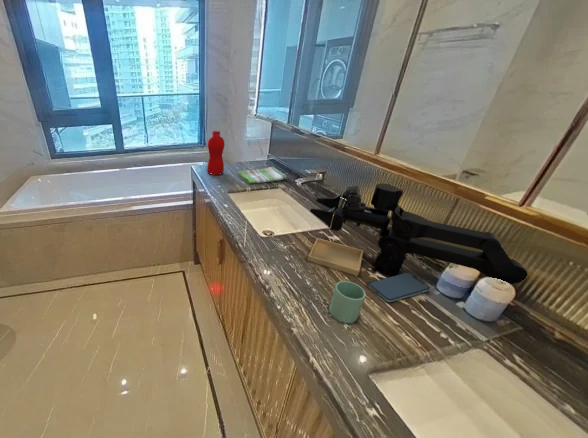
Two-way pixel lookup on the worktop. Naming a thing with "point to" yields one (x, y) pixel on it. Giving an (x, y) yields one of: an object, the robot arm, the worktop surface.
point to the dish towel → (262, 175)
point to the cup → (347, 301)
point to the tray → (336, 256)
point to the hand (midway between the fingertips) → (313, 204)
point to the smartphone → (398, 287)
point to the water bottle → (215, 154)
